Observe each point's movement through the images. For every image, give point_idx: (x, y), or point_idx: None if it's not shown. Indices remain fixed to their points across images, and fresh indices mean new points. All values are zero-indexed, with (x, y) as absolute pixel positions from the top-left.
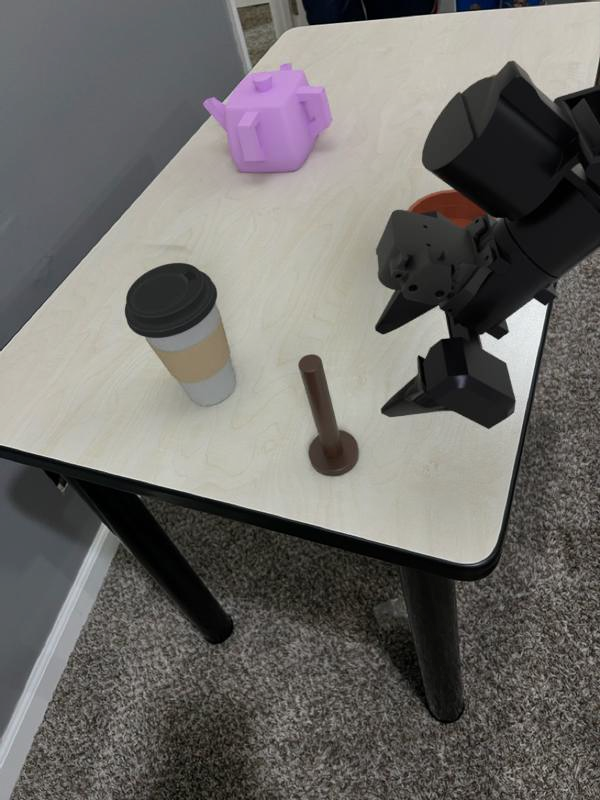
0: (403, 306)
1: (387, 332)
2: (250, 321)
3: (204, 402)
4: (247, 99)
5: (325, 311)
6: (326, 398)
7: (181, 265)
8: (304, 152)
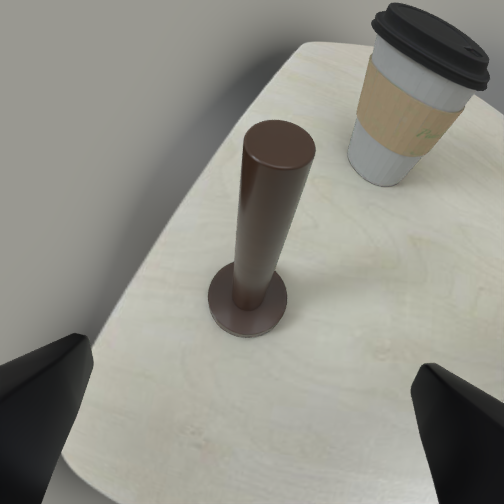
0: (478, 458)
1: (413, 401)
2: (466, 212)
3: (349, 149)
4: None
5: (487, 303)
6: (244, 235)
7: (483, 53)
8: None
